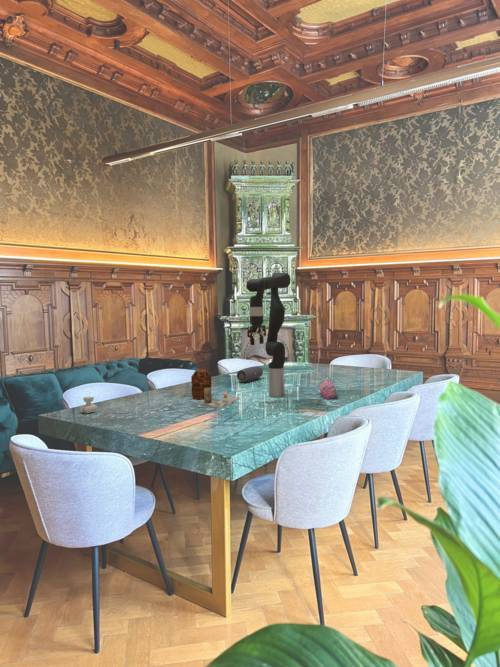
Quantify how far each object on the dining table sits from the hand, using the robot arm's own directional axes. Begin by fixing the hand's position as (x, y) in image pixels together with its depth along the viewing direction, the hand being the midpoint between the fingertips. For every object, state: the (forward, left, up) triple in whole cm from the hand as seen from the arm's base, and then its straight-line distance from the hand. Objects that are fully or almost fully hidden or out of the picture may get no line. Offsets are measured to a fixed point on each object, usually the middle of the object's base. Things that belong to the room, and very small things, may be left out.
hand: (257, 344), depth 251 cm
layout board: (+11, -21, -34) cm, 42 cm away
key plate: (-2, -22, -34) cm, 41 cm away
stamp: (+63, -67, -34) cm, 98 cm away
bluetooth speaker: (-59, -50, -34) cm, 85 cm away
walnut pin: (+15, -24, -33) cm, 43 cm away
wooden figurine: (+4, -39, -34) cm, 52 cm away
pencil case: (-42, +22, -34) cm, 59 cm away
